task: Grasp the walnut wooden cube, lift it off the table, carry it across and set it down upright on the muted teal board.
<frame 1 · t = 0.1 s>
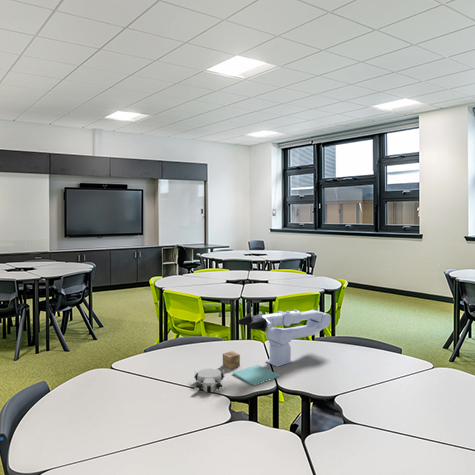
hand: (244, 324, 177), 22 cm above the table, tool horizontal, fingers open, 7 cm apart
robot toy: (209, 387, 167), on the table
teal board: (255, 375, 177), on the table
walnut cube: (231, 365, 187), on the table
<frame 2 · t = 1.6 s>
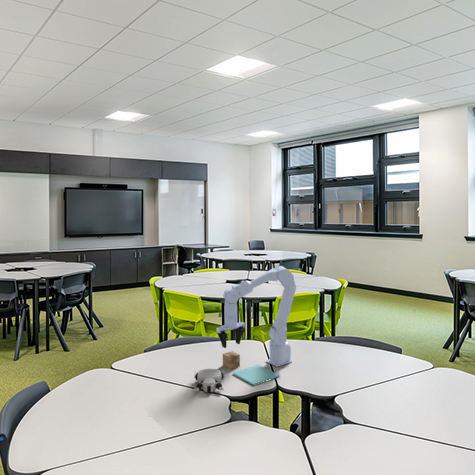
hand: (231, 345, 187), 9 cm above the table, tool pointing down, fingers open, 7 cm apart
nothing on the table moved.
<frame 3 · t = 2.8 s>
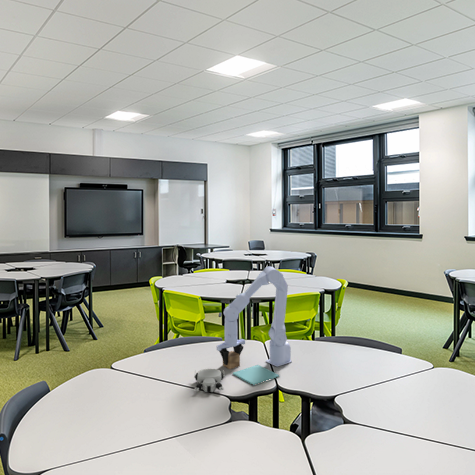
hand: (231, 362, 187), 1 cm above the table, tool pointing down, fingers closed on walnut cube, 5 cm apart
walnut cube: (231, 365, 187), on the table, touching gripper
everything else where it was.
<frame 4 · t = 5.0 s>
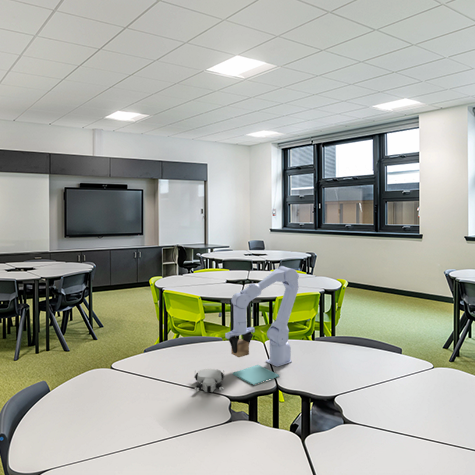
hand: (240, 351, 183), 8 cm above the table, tool pointing down, fingers closed on walnut cube, 5 cm apart
walnut cube: (240, 354, 183), point 7 cm above the table, touching gripper
everything else where it was.
when the fingers open (4 cm above the table, at t = 7.0 s): walnut cube drops 1 cm, resting on teal board.
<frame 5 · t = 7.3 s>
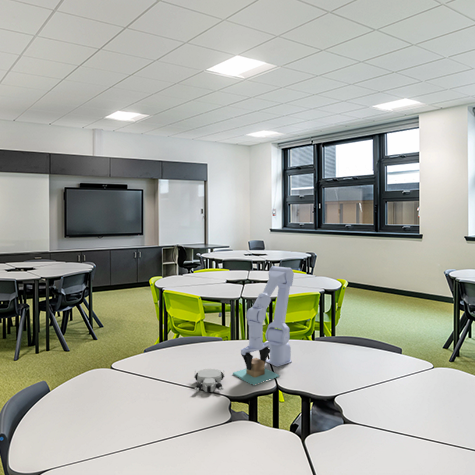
hand: (255, 367, 176), 4 cm above the table, tool pointing down, fingers open, 7 cm apart
walnut cube: (255, 373, 177), point 1 cm above the table, touching teal board
everything else where it was.
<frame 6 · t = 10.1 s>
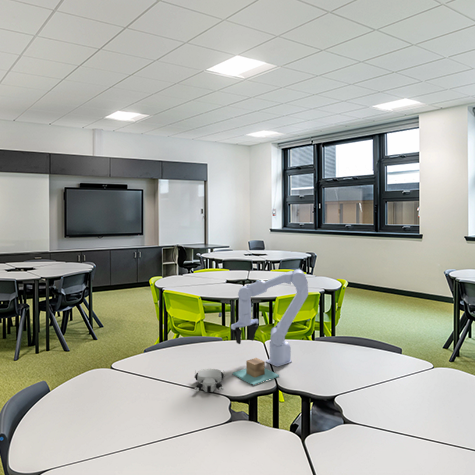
hand: (245, 341, 191), 9 cm above the table, tool pointing down, fingers open, 7 cm apart
nothing on the table moved.
at the end: walnut cube inside the target area on the teal board (0.2 cm from its centre), point 0.8 cm above the teal board's base; walnut cube tilted 0°; the gripper is holding nothing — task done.
